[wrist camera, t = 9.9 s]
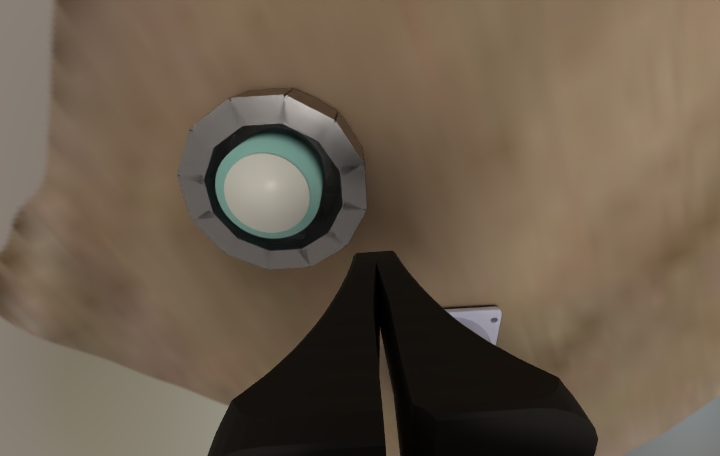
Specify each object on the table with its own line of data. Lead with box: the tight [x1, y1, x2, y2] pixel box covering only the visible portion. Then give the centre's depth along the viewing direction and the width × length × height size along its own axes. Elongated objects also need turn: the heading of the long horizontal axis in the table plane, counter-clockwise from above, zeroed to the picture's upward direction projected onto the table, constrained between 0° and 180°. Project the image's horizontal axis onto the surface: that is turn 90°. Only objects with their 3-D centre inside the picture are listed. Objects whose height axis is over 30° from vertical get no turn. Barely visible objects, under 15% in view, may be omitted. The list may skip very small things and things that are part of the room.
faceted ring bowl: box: [177, 88, 367, 270], centre depth 18 cm, size 9×9×3 cm
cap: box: [215, 127, 325, 238], centre depth 17 cm, size 5×5×4 cm
